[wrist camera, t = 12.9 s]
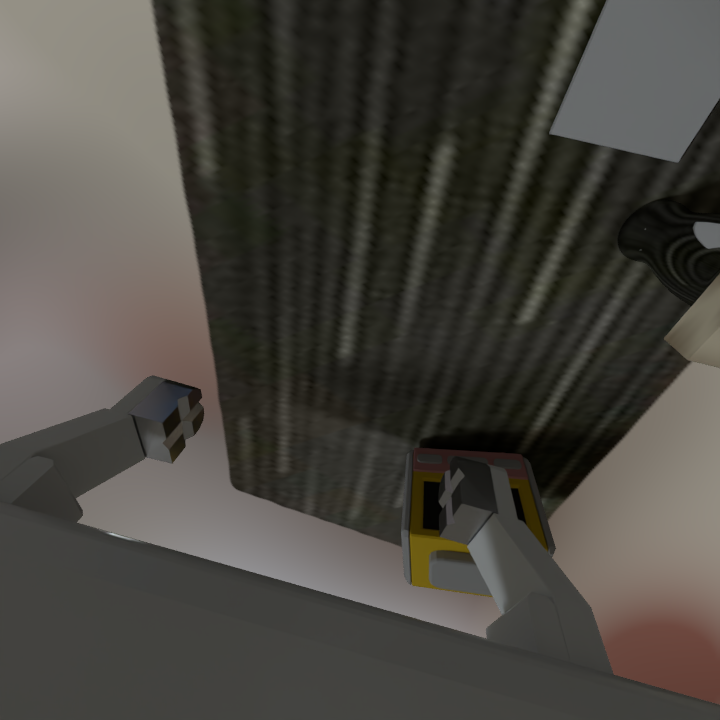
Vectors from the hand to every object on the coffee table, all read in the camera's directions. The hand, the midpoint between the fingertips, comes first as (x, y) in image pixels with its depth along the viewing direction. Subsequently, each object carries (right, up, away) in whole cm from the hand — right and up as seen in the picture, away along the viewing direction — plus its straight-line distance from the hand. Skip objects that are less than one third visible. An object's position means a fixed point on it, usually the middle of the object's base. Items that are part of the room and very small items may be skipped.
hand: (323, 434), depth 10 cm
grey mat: (+26, +27, +18) cm, 42 cm away
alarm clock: (+20, -18, +50) cm, 57 cm away
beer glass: (+32, +16, +25) cm, 43 cm away
